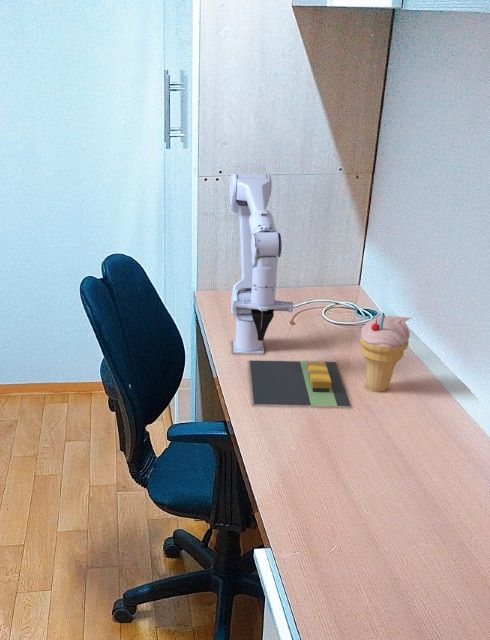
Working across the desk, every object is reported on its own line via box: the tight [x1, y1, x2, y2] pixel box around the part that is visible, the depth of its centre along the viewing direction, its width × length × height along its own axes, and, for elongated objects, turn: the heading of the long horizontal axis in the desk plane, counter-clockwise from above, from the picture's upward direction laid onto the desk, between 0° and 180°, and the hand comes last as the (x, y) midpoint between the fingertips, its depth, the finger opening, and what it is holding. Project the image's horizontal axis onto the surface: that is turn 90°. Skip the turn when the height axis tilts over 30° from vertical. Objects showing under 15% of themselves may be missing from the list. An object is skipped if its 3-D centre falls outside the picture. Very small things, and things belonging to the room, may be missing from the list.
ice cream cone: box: [359, 312, 412, 393], centre depth 170 cm, size 11×11×20 cm
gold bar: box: [306, 361, 332, 392], centre depth 177 cm, size 12×4×3 cm, turn 178°
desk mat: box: [249, 360, 351, 407], centre depth 178 cm, size 26×22×1 cm
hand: (260, 339), depth 180 cm, fingers closed
